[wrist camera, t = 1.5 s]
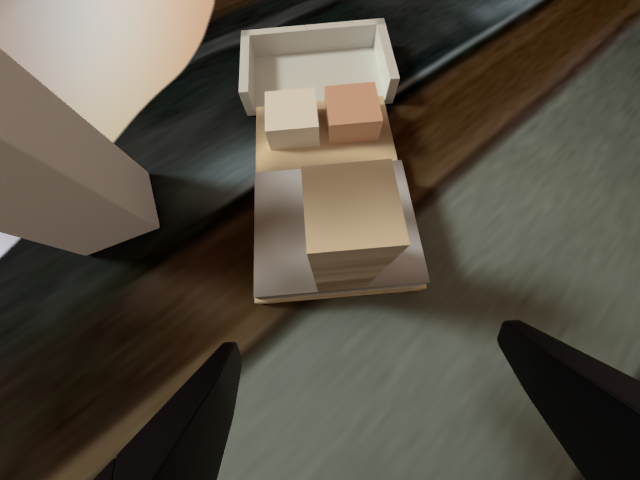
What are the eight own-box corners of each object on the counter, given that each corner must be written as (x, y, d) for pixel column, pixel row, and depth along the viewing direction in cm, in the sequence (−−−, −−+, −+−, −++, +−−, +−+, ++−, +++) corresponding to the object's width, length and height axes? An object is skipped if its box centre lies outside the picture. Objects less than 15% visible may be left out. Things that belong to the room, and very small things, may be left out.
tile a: (319, 145, 24) (318, 126, 22) (270, 150, 24) (264, 131, 22) (316, 108, 26) (314, 87, 23) (270, 112, 26) (264, 91, 24)
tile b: (377, 140, 24) (383, 120, 22) (329, 144, 24) (329, 125, 22) (370, 103, 26) (374, 81, 23) (324, 107, 26) (324, 86, 24)
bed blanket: (420, 286, 19) (552, 234, 8) (260, 299, 19) (165, 267, 8) (395, 173, 23) (462, 26, 12) (260, 185, 23) (195, 50, 12)
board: (420, 290, 21) (426, 287, 19) (259, 304, 21) (254, 302, 19) (380, 107, 28) (383, 95, 26) (260, 118, 28) (256, 107, 26)
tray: (392, 103, 28) (400, 78, 25) (247, 116, 28) (238, 92, 25) (378, 45, 31) (383, 18, 28) (249, 57, 31) (241, 30, 28)
